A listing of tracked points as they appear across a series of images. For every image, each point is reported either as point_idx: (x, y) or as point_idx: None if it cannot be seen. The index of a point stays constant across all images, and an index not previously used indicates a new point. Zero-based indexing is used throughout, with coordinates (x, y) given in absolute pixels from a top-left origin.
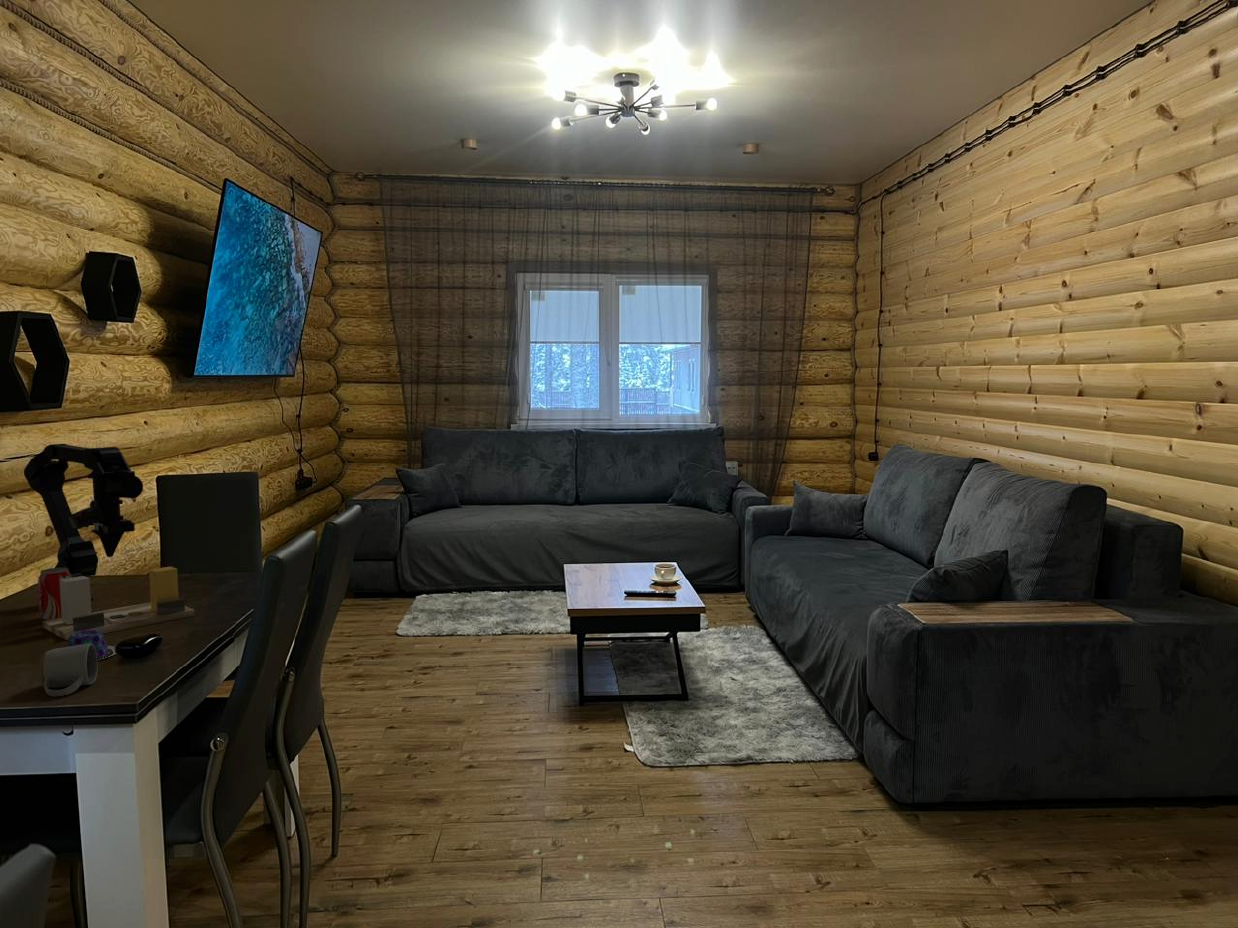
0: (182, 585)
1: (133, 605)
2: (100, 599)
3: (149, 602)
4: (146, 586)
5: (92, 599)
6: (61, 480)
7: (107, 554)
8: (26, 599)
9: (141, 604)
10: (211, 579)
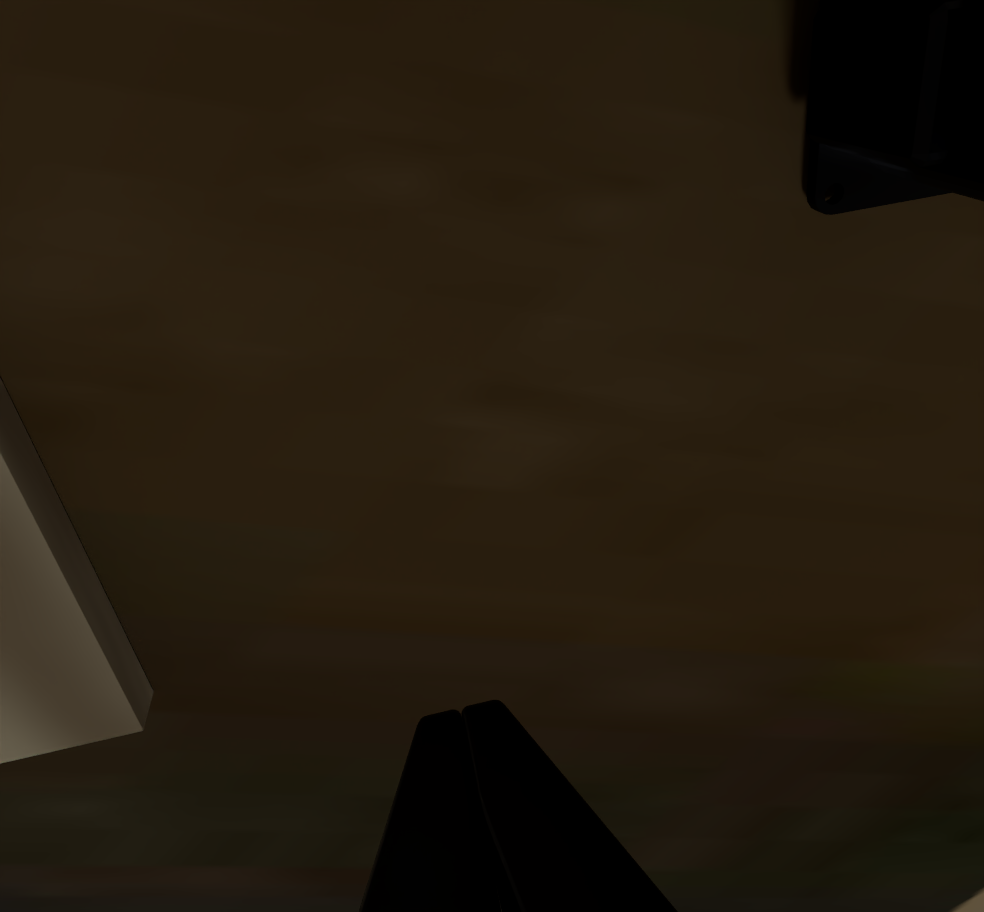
0: (769, 789)
1: (6, 487)
2: (796, 271)
3: (83, 613)
4: (947, 617)
5: (809, 200)
6: None
7: (404, 766)
8: None
9: (18, 551)
10: (791, 906)
